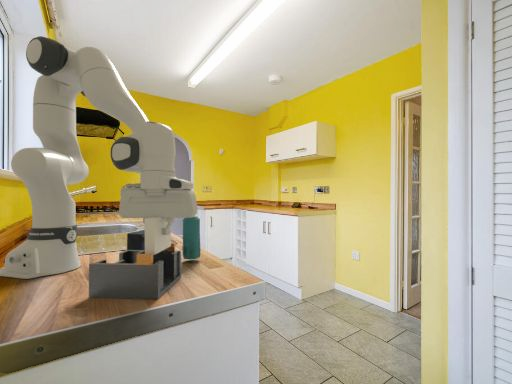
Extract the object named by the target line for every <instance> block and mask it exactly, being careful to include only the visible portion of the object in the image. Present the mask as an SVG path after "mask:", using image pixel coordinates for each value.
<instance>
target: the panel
mask: <svg viewBox="0 0 512 384" xmlns="http://www.w3.org/2000/svg"><path fill="white" fill-rule="evenodd" d="M167 223H168V222H166V218H161V217H149V218H145V225H144V230H145V254H153V255H155V254H157V253H159V252H161V251H163V250H165V249H166V248H168V247H170V246H171V242H172V234H171V233H172V231H171V229H172V226H171V227H170V234H169V235H162V228H165V227H166V225H167Z"/></svg>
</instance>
